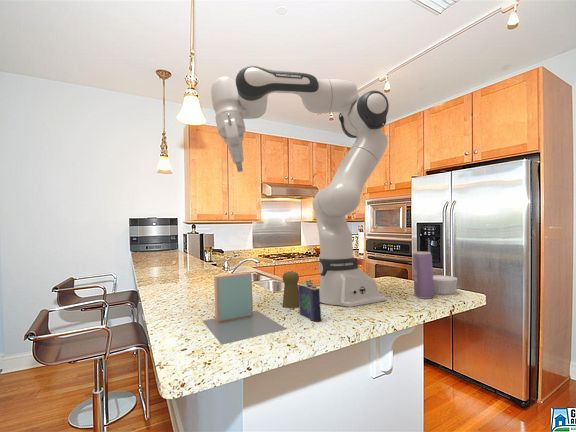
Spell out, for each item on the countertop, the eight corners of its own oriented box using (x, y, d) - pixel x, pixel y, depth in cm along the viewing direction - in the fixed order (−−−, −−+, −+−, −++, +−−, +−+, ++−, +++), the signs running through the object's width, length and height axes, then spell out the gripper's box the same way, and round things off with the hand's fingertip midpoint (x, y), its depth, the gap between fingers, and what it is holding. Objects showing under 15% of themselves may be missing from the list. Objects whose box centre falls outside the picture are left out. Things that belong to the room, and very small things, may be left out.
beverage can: (437, 298, 91) (434, 252, 92) (419, 299, 91) (416, 253, 92) (428, 294, 97) (426, 251, 98) (411, 295, 97) (409, 251, 98)
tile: (250, 314, 80) (248, 272, 81) (253, 316, 78) (251, 273, 79) (215, 320, 76) (214, 276, 76) (217, 323, 73) (216, 277, 74)
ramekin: (434, 287, 108) (433, 273, 108) (465, 292, 99) (463, 277, 99) (416, 292, 102) (416, 277, 102) (448, 297, 93) (447, 281, 93)
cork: (299, 310, 84) (298, 273, 85) (280, 309, 86) (279, 273, 86) (302, 304, 90) (301, 270, 91) (284, 304, 91) (283, 270, 92)
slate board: (256, 312, 84) (256, 310, 84) (287, 331, 67) (287, 328, 67) (202, 322, 76) (202, 320, 76) (221, 347, 60) (221, 344, 60)
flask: (297, 315, 79) (296, 277, 80) (306, 314, 81) (305, 276, 81) (315, 325, 71) (313, 282, 71) (324, 323, 72) (323, 281, 73)
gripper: (238, 107, 81) (247, 152, 79) (242, 138, 101) (250, 174, 99) (216, 111, 80) (225, 156, 78) (225, 141, 100) (232, 177, 99)
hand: (239, 166), depth 89 cm, fingers open, 8 cm apart
